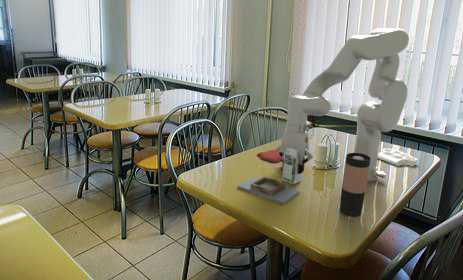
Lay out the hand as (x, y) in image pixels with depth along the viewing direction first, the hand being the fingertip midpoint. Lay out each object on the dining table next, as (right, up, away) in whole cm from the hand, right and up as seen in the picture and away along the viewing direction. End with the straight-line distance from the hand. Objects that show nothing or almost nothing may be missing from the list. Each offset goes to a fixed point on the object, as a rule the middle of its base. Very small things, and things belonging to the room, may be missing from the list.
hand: (292, 170), depth 146 cm
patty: (-3, +4, +29) cm, 29 cm away
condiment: (0, -1, +13) cm, 13 cm away
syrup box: (0, -4, +1) cm, 5 cm away
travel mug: (+16, -12, -22) cm, 30 cm away
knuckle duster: (+55, +2, +30) cm, 63 cm away
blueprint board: (-11, -7, -8) cm, 15 cm away
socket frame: (-11, -7, -8) cm, 15 cm away
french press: (+11, +8, +42) cm, 44 cm away
